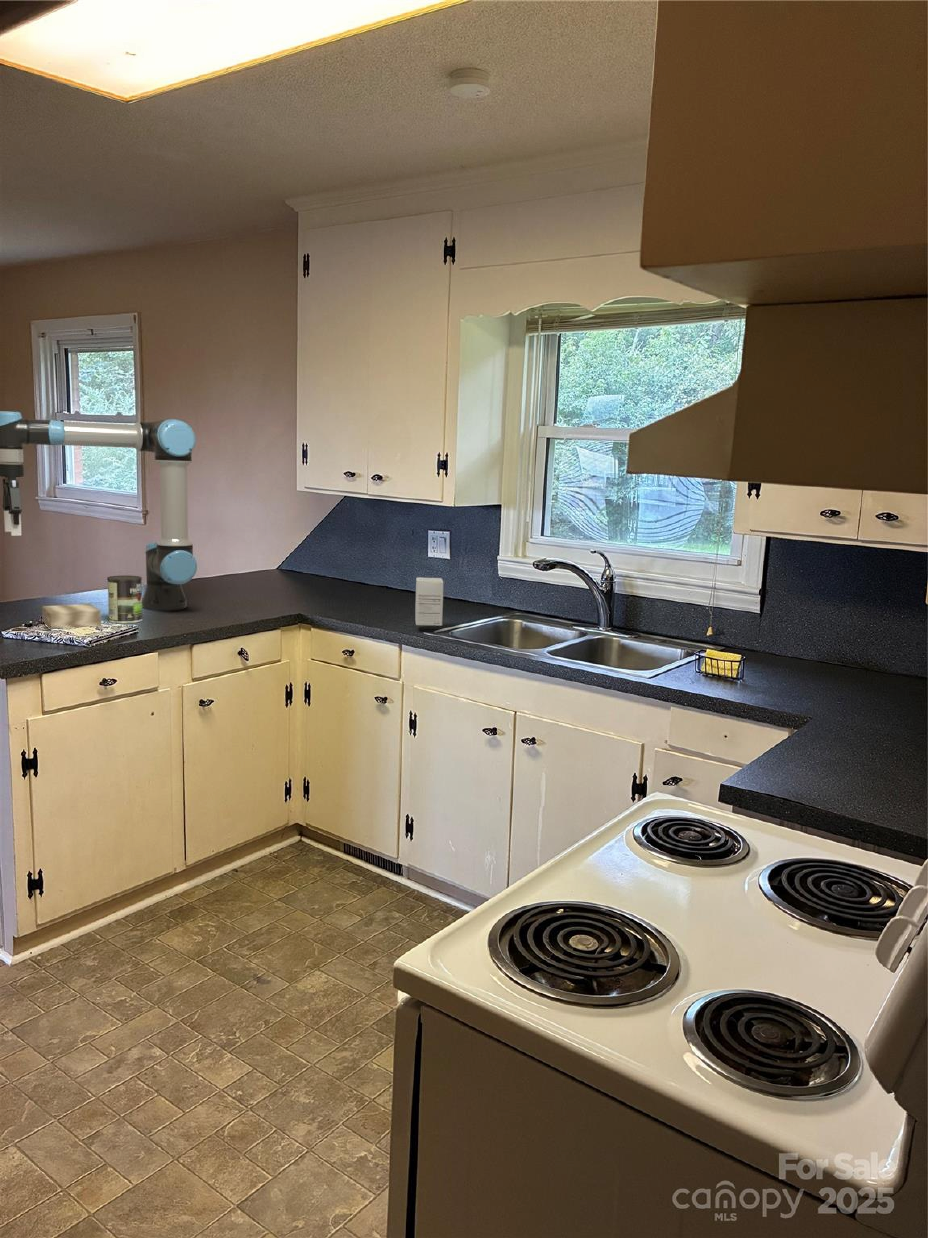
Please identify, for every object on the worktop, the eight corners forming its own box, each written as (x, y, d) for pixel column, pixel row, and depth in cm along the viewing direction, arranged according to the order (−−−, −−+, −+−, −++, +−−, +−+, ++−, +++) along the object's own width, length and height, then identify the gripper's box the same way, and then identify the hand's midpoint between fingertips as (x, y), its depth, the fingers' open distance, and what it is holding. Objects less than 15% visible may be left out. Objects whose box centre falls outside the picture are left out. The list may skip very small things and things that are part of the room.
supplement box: (414, 620, 319) (415, 577, 316) (440, 621, 320) (442, 577, 317) (415, 625, 310) (416, 580, 307) (442, 626, 311) (444, 581, 308)
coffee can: (148, 619, 303) (147, 576, 301) (131, 624, 293) (130, 580, 291) (120, 617, 305) (118, 574, 303) (101, 622, 295) (100, 578, 293)
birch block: (90, 622, 296) (90, 603, 295) (100, 630, 285) (100, 610, 284) (42, 625, 289) (42, 606, 288) (51, 633, 277) (50, 613, 276)
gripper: (-10, 462, 291) (-6, 530, 295) (1, 464, 271) (5, 537, 275) (17, 462, 296) (20, 529, 299) (30, 464, 275) (33, 537, 279)
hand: (13, 533), depth 287 cm, fingers open, 13 cm apart
